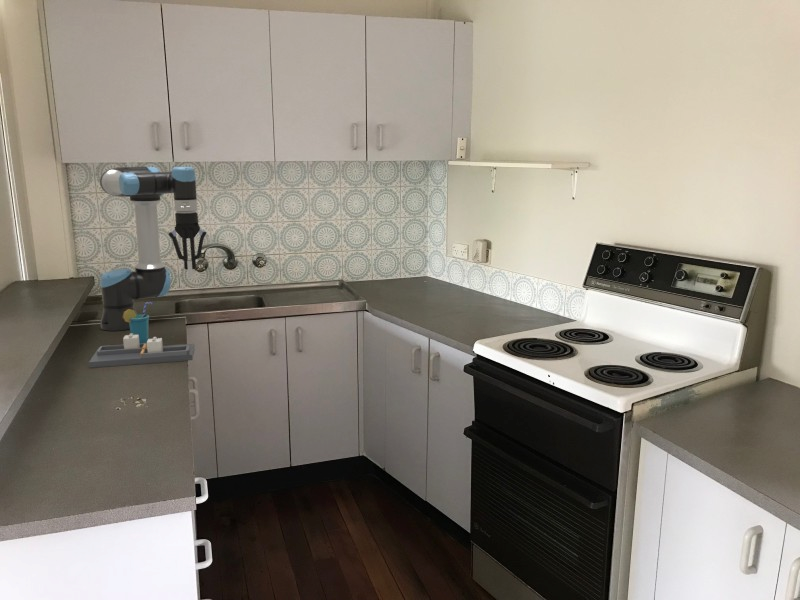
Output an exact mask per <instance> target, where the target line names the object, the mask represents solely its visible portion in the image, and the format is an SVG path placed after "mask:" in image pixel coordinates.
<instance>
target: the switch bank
mask: <svg viewBox="0 0 800 600" xmlns="http://www.w3.org/2000/svg"><path fill="white" fill-rule="evenodd" d="M139 344H140V348H132V349H124V344H115V345H114V344H112V345H101V346H98V348H97V350H96V351H95V353H94V354H93V355H92V357H91V359H90V360H89V361H88V367H89V369H92V368H105V367H119V366H133V365H144V364H145V365H146V364H160V363H173V362H186V361H187V362H188V361H193V360H194V354H195V349H196V348H195V343H187V344H185V343H184V344H171V345H170V344H169V345H163V352H153V353H148V350H147V344H146V343H139Z"/></svg>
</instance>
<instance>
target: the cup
mask: <svg viewBox="0 0 800 600" xmlns="http://www.w3.org/2000/svg"><path fill="white" fill-rule="evenodd" d="M153 304H154V302H153V301H151V302H150V301H149V302H148V301H147V302H145V303H144V305H143V310H142V313H137V314H136V313H135V311H134V310H131V309H128V310H126V311H125V312H124V314H123V319H124V321H125V322H129V326H130V329H129V331H130V333H133V335H139V343H146V344H147V341H148V339H149V320H150V315H149V314H146V310H147V305H153Z"/></svg>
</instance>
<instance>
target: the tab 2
mask: <svg viewBox="0 0 800 600" xmlns="http://www.w3.org/2000/svg"><path fill="white" fill-rule="evenodd" d="M163 346H164V345H163V338H162V337H160V338H159V337H158V338H157V336H153V337H152V338H148V341H147V350H148V353H153V352H163Z"/></svg>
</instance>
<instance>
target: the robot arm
mask: <svg viewBox="0 0 800 600" xmlns="http://www.w3.org/2000/svg"><path fill="white" fill-rule="evenodd" d="M196 178H197V176H196V171H195V168H194V167H193V166H174V167H173V168H172V169H171V170H169V171H160V169H159V168H157V167H154V166H147V165H146V166H125V167H124V166H118V167H112V168H110V169H107V170H106V171H103V172H102V174H101V176H100V178H99V185H100V188H101V190H102V191H103V192H104V193H106V194H107V195H110V196H114V197H121V198H124V197H126V198H128V197H129V201H130V203H132V204H133V205H134V214H135V215H134V217H135V218H134V219H135V229H136V245H137V257H138V262H137V264H136V265H134V268H135V270H134V271H132V270H131V269H130V268H117V269H113V270H109V271H106V272H104V273H102V275H101V276H100V288H101V297H102V305H103V306H102V307H103V309H102V315H101V318H100V330H103V331H109V332H110V331H111V332H115V331H116V332H117V331H125V330H130V326H129V322H125V321H124V319H123V314H124V312H125V311H126V310H128V309H131V310H134V311H135V313H136V314H138V312H137V311H136V308H135V302H134V301H135V300H141V299H149V298H150V299H151V298H158V297H163V296H166V295H168V293H169V292H170V288H171V281H172V279H171V273H170V270H169V269H168V268H166V265H165V264H164V263H163V262H162V261H161V260H162V259H161V248H160V233H159V232H160V231H159V218H158V216H159V215H158V203H160V202H161V197H162V196H164V194H173V201H174V203H173V205H174V211H175V213H174V217H175V218H174V219H175V227H174V229H173V230H172V231H170V232H168V236H169V238H170V239H171V241H172V243H173V246H174V249H175V252H176V256H177V257H178V259H179V260H183V264H184V265H183V266H184V270H186V271H187V275H188V276H187V277H188V280H193V279H194V270H196V268H197V265H196V262H197V260H198V259H200V258H201V256H202V249H203V245H204V240H205V239H204V238H205V237H206V235H207V233H208V232H207V230H203V229H201V227H200V224H199V216H198V215H199V214H198V200H197V199H198V198H197V186H196V185H197V183H196V181H197V180H196ZM198 233H199V242H198V246H197V252H196V248H195V247H196V244H195V238H196V236H197V235H198ZM177 234H178V236H179V237H180V238H181V241H182V250H181V247H180V244H179V242H178V238H177V237H176V236H177ZM188 239H189V243H190V244H189V245H190V259H189V257H188V256H189V254H188ZM182 253H183V254H182Z"/></svg>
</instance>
